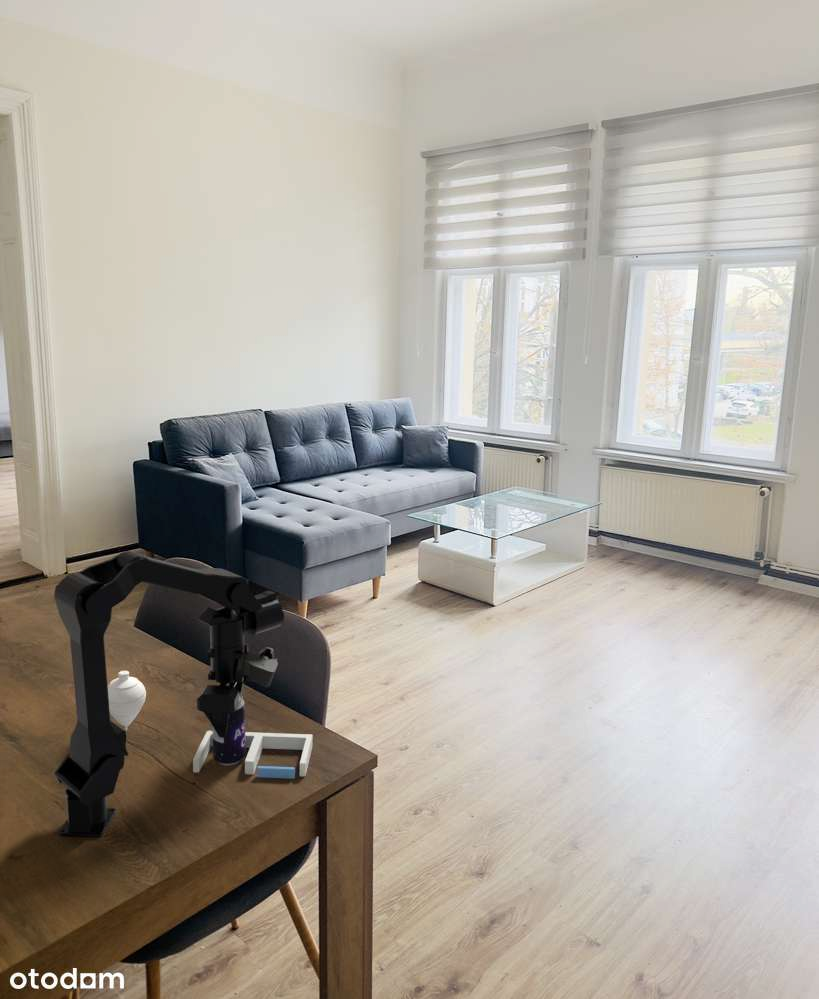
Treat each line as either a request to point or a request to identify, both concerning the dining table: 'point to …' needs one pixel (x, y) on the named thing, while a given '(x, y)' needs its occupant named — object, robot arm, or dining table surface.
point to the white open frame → (256, 745)
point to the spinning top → (125, 698)
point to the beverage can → (231, 738)
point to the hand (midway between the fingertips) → (228, 723)
